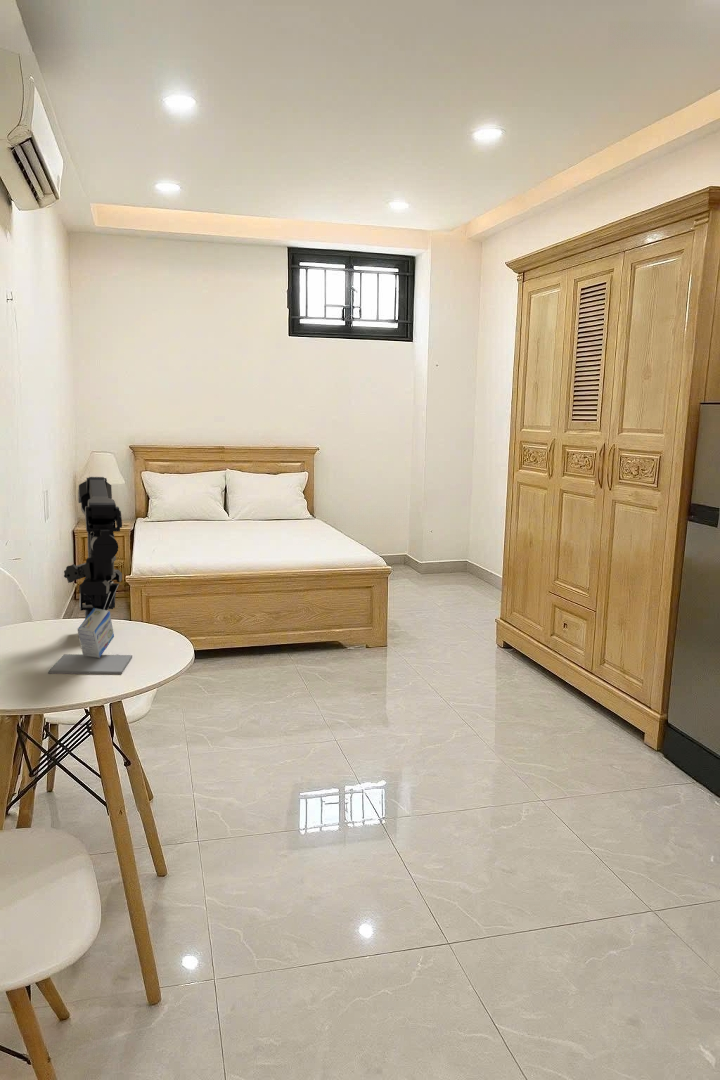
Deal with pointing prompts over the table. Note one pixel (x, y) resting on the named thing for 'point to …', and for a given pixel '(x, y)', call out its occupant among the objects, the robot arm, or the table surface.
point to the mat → (90, 664)
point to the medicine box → (96, 633)
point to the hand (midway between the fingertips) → (101, 615)
